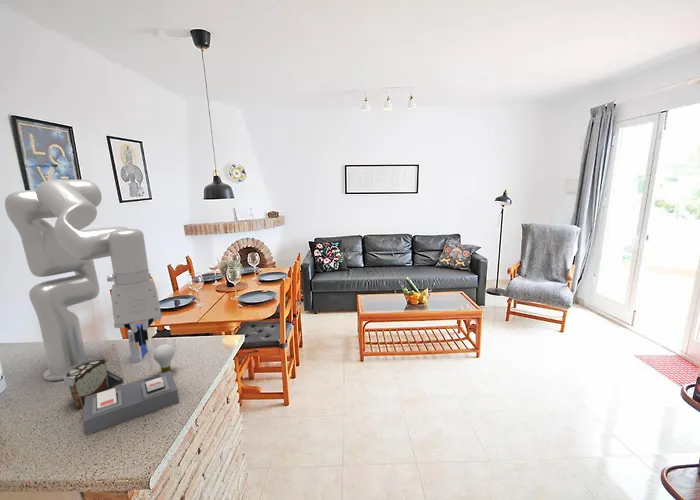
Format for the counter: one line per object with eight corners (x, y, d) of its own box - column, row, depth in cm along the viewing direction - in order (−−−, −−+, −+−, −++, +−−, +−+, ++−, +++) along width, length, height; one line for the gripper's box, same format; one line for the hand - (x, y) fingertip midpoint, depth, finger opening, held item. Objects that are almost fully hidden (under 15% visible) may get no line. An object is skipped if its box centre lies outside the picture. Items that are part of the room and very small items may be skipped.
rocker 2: (146, 386, 94) (145, 381, 94) (161, 381, 96) (161, 376, 96) (147, 391, 90) (147, 387, 90) (164, 386, 92) (163, 381, 92)
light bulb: (167, 379, 105) (163, 350, 103) (152, 377, 106) (147, 348, 104) (180, 369, 111) (177, 341, 109) (165, 367, 112) (161, 340, 110)
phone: (101, 367, 111) (124, 379, 104) (101, 370, 111) (124, 383, 104) (73, 378, 105) (95, 393, 97) (73, 382, 105) (95, 396, 97)
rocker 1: (97, 396, 88) (96, 393, 87) (115, 391, 90) (115, 387, 90) (98, 411, 84) (97, 407, 83) (117, 405, 86) (116, 401, 85)
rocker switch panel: (87, 409, 91) (84, 393, 90) (171, 382, 103) (170, 367, 102) (85, 435, 82) (82, 417, 81) (179, 401, 94) (177, 386, 93)
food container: (92, 385, 102) (87, 355, 100) (111, 385, 102) (106, 355, 100) (56, 411, 90) (49, 379, 88) (78, 412, 90) (72, 379, 88)
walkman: (139, 352, 122) (134, 322, 120) (147, 351, 123) (143, 321, 121) (131, 363, 115) (126, 331, 113) (140, 361, 116) (135, 330, 113)
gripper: (95, 286, 77) (107, 358, 80) (167, 275, 85) (175, 340, 89) (96, 279, 83) (108, 346, 86) (163, 269, 91) (171, 331, 95)
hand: (142, 343), depth 88 cm, fingers closed
